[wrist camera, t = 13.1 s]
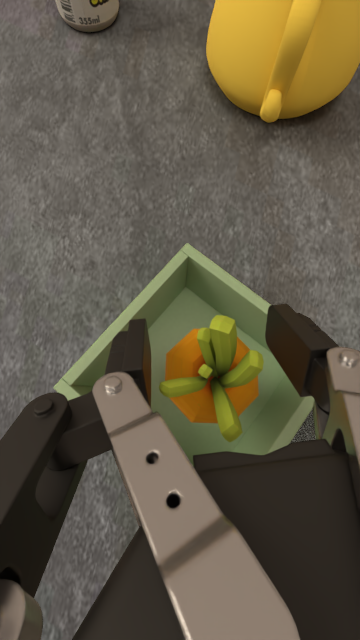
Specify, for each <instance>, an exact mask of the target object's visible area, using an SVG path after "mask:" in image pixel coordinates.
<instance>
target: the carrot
mask: <svg viewBox="0 0 360 640" xmlns="http://www.w3.org/2000/svg"><path fill="white" fill-rule="evenodd" d="M263 363H264V360H263V356H262V354H261V353H259V352H258V351H255V350H250V349H249V348H248V347H247V346H246V345H245V344H244V343H243V342H242V341H241V340H240V339H239V338H238V337H237V330H236V323H235V320H234V319H232V318H229V317H227V316H223V315H216V316H215V317H214V318H213V319H212V321H211V324H210V328H201V329H193V330H191V331H190V332H189V333H188V334H187V335H186V336H185V337H184V338H183V339H182V340H181V341H180V342H178V343H177V344H176V345H175V346H174V347H173V348H172V349H171V350H170V351H169V352H168V353H167V354H166V369H165V381H163V382H160V385H159V390H160V392H161V393H162V394H163V395H164V396H166V397H168V398H170V399H171V400H172V402H173V403H174V404H175V405H176V406H177V407H178V408H179V409H180V411H181V412H182V413H183V414H184V415H185V416H186V417H187V418H188V420H189V421H190V422H192V423H218V425H219V428H220V432H221V434H222V436H223V437H224V438H225V440H227V441H228V442H232V441H234V440H235V439H237V438H238V437H239V436H240V435H241V434H242V433H243V432H242V427H241V423H240V420H239V416H240V414H241V413H242V412H243V411H244V410H245V409H246V408H247V407H248V406H249V405H250V404H251V403H252V402H253V401H254V400H255V399H256V398H257V397H258V396H259V389H258V374H259V373H260V372H261V371H262V370H263Z"/></svg>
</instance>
